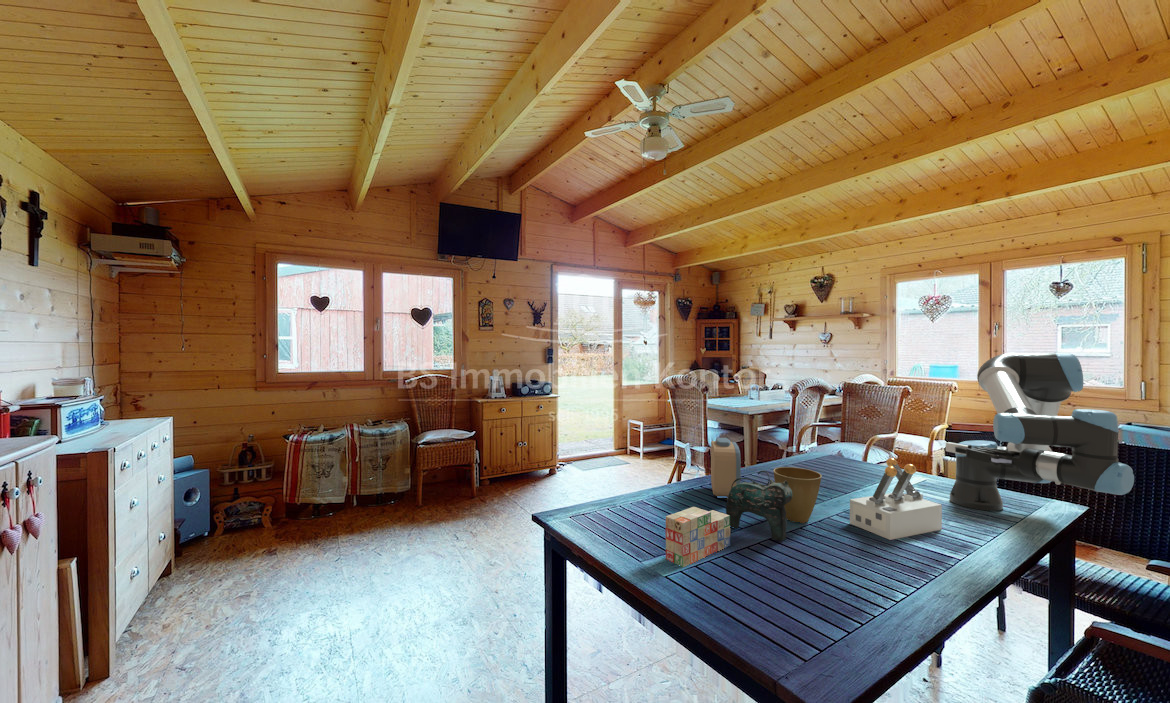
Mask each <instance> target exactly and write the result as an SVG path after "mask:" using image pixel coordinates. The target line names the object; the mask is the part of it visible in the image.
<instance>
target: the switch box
mask: <svg viewBox="0 0 1170 703" xmlns="http://www.w3.org/2000/svg"><path fill="white" fill-rule="evenodd" d="M890 494H892V492H890V493H885V495H884V497H883V503H880V504H875V502H874V501H871V500H869V498H871V497H873V495H872V496H871V495H870V496H861V497H856V498H851V499H849V524H850V525H852V526H855V527H857V528H859V529H863V530H865V531H867V532H871V533H872V534H874V535H877V536H880V537H882V538H885V539H887V540H890V541H891V540H898V539H902V538H906V537H911V536H912V537H913V536H918V535H922V534H928V533H931V532H936V531H942V530H943V525H942V524H943V522H942V521H943V516H942V515H943V513H942V512H943V505H942V504H941V503H937V502H934V501H932V500H928V499H925V498H923V497H924V494H923V493H920V497H918V498H913V496H911V495H908V494H906V493H904V492H903V494H902V500H899V501H894V499H893V498H890V497H888V495H890Z"/></svg>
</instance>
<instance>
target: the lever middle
mask: <svg viewBox="0 0 1170 703" xmlns="http://www.w3.org/2000/svg"><path fill="white" fill-rule="evenodd" d="M902 471H903V473H902V475H901V477H900V479H899V480H898V481H897V483H896V485H895V486H894V488H893V490H892V492H891V493H892V494H890V495H888V497H890V498H893V499H894V501H899V500H902V494H903V493H904V491H905V488H906V486H907V484H908V483H909V481H911V479H912V477H913V475H914V474H916V472H917V467H916V466H915V464H911V463H907V464H905V465H904V467H903V470H902Z"/></svg>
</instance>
